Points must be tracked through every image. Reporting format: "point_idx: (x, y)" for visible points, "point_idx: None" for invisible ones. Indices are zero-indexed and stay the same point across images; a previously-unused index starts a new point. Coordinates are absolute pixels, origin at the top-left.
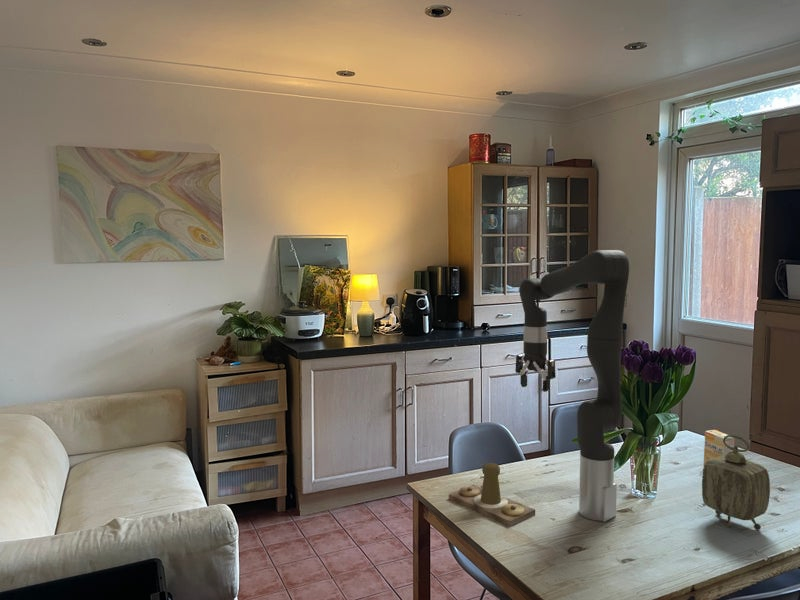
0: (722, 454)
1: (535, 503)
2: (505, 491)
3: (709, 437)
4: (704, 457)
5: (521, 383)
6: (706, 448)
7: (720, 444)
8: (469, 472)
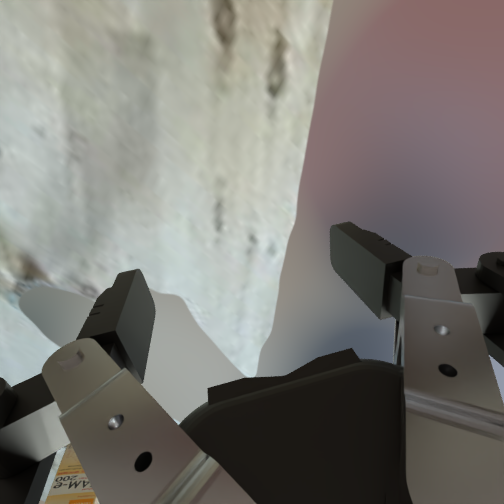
0: (55, 478)
1: (61, 37)
2: (169, 23)
3: (81, 501)
4: None
5: (358, 228)
6: None
7: (53, 498)
8: (323, 34)
